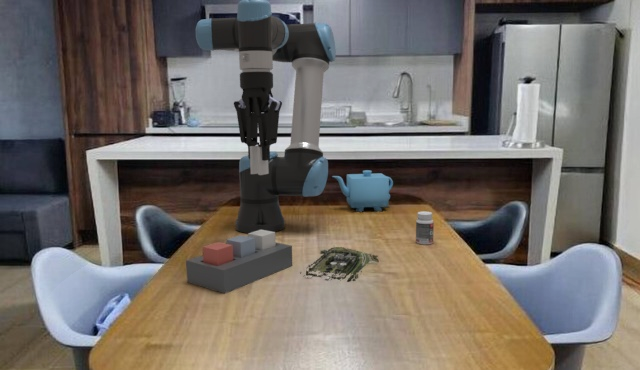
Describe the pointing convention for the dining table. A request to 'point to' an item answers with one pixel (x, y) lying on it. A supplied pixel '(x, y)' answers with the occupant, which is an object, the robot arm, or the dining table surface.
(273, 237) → the white key
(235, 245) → the blue key
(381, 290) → the dining table surface
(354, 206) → the teapot
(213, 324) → the dining table surface
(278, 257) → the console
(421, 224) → the pill bottle
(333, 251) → the treatment plant
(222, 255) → the red key
